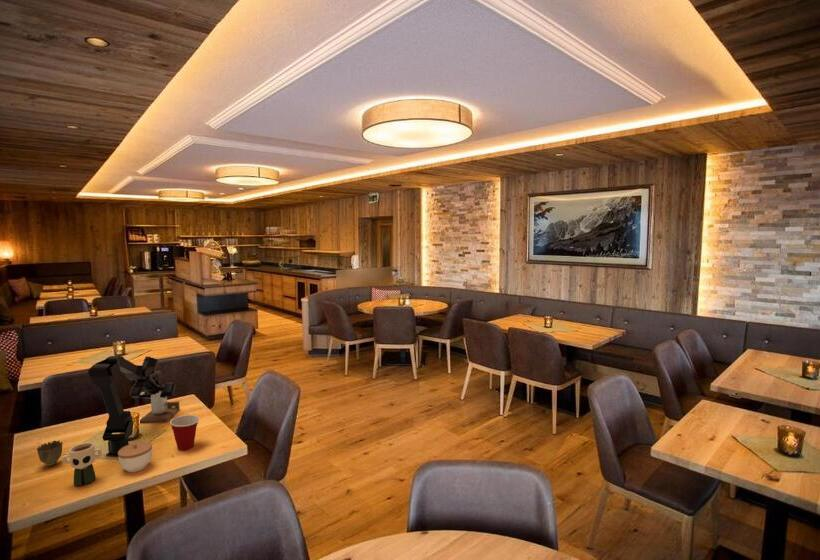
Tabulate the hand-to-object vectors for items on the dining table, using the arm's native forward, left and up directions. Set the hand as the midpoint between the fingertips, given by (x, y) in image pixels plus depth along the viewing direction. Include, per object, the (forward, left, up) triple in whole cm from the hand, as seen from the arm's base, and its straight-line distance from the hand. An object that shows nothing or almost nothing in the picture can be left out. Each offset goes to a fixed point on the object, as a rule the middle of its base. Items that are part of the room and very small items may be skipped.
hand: (160, 397), depth 203 cm
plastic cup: (-33, +26, -9) cm, 43 cm away
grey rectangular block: (0, +1, -7) cm, 7 cm away
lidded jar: (-25, +43, -9) cm, 51 cm away
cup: (+9, +46, -9) cm, 48 cm away
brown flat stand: (0, +1, -9) cm, 9 cm away
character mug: (-14, +54, -9) cm, 56 cm away
